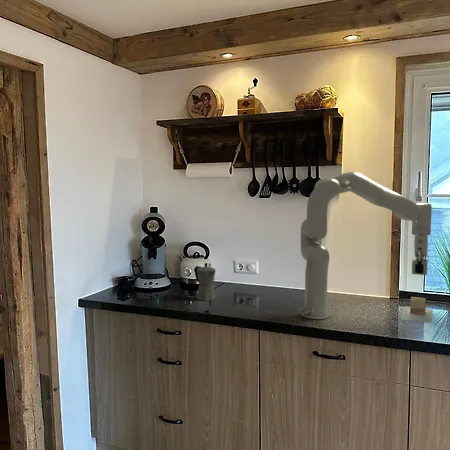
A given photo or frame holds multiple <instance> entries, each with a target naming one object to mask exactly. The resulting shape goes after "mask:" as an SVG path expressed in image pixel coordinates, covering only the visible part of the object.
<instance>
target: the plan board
mask: <svg viewBox="0 0 450 450" xmlns="http://www.w3.org/2000/svg"><path fill="white" fill-rule="evenodd" d="M433 312H434V311H433V309H430V308H425V315H420V314H412V313H410V306H403V310H402V312H401V317H400V320H405V321H410V322H411V321H413V322H421V323H429V324H433V315H434V313H433Z"/></svg>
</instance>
